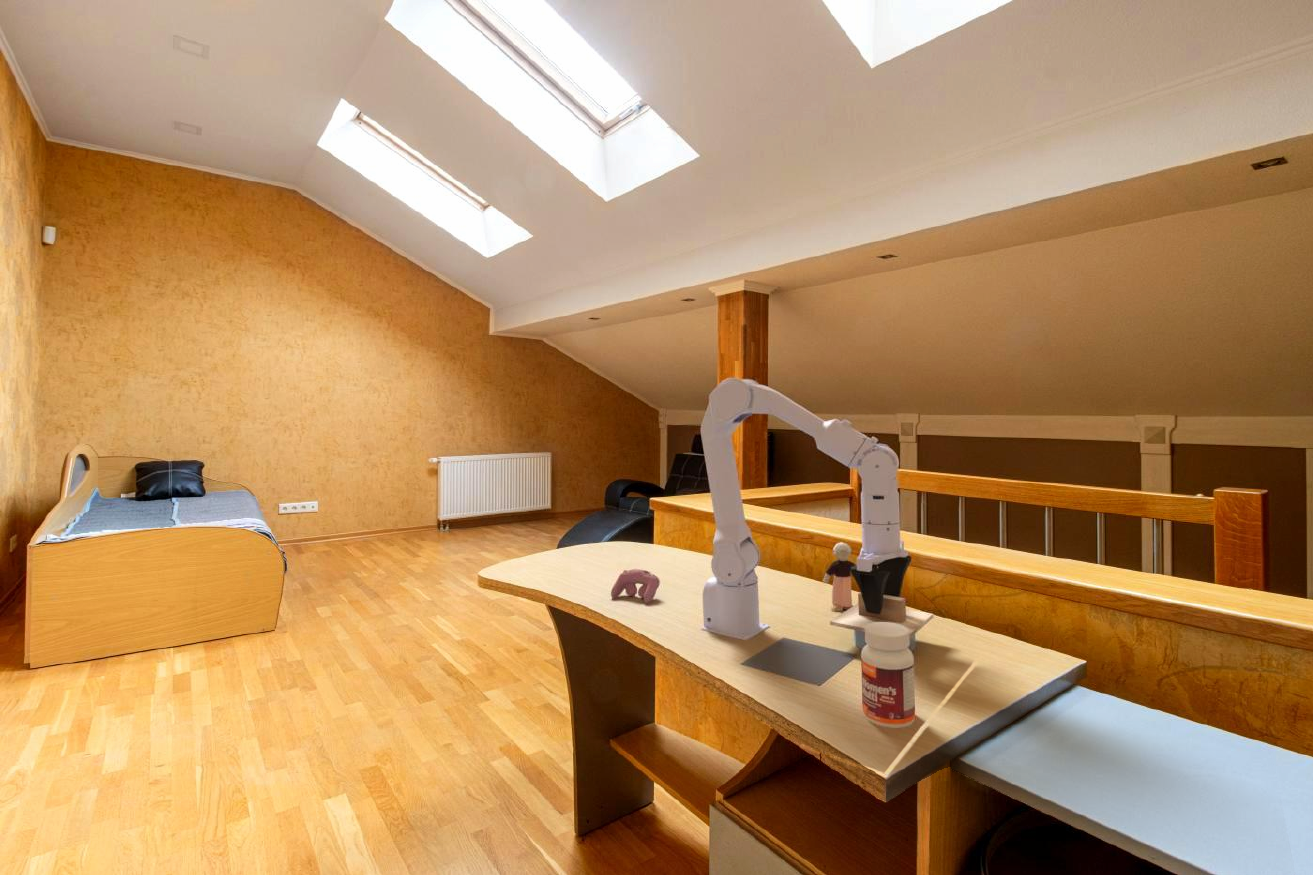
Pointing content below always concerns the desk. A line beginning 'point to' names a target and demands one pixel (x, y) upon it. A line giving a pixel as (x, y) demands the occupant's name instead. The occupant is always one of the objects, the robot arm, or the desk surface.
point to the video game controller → (634, 577)
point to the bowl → (860, 643)
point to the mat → (800, 661)
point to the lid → (883, 615)
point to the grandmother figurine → (840, 578)
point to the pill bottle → (888, 675)
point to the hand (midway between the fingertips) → (883, 606)
